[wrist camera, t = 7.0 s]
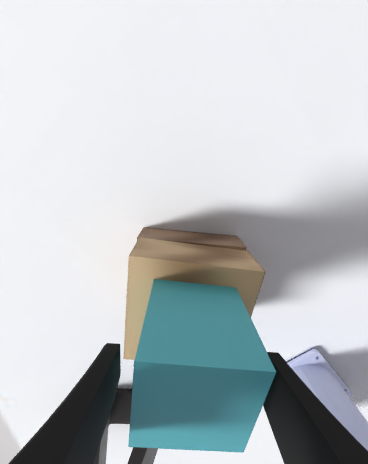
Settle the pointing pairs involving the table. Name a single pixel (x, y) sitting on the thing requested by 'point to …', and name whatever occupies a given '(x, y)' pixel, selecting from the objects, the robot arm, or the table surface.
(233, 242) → the tower base
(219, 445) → the teal cube
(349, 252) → the table surface
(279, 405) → the robot arm
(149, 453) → the phone stand
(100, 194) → the table surface
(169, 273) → the tower top
